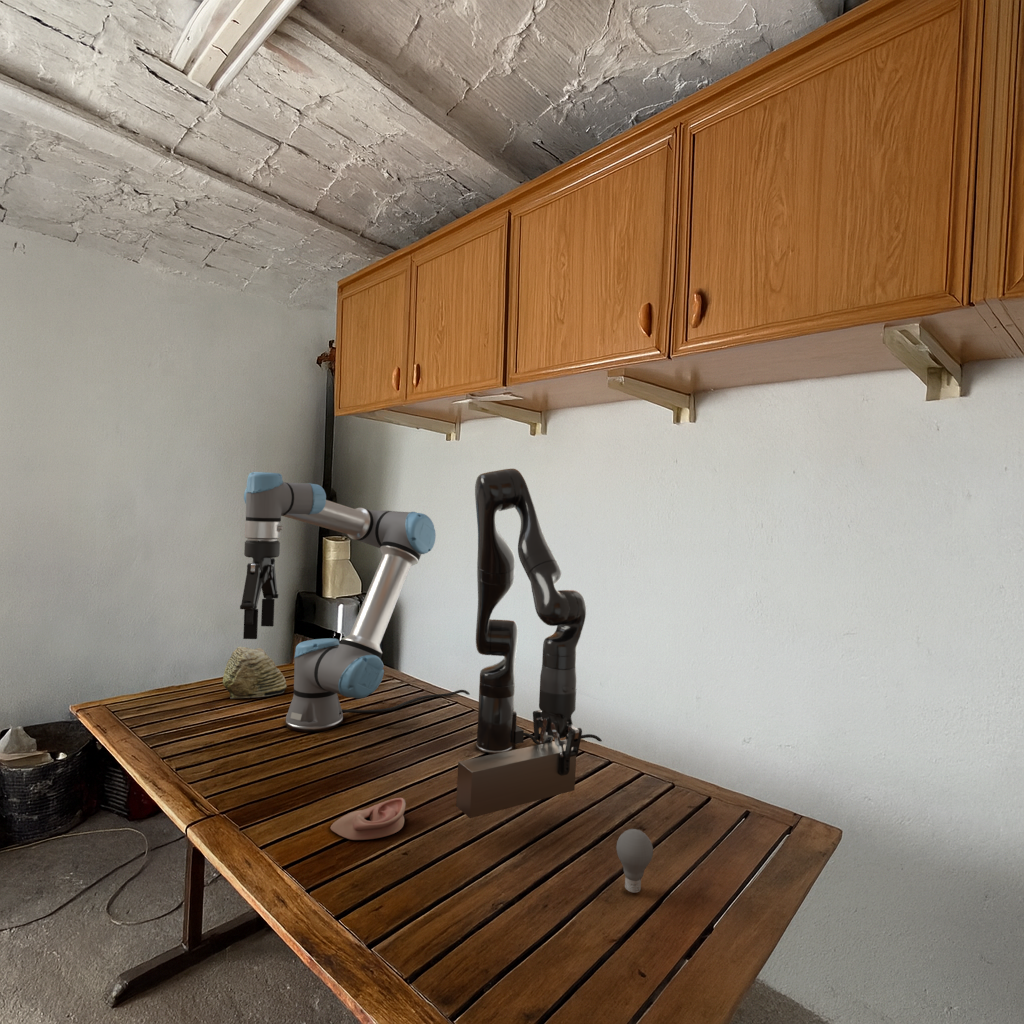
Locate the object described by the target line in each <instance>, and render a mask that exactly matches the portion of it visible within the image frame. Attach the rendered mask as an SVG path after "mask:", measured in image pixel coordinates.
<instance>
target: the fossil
mask: <svg viewBox="0 0 1024 1024" xmlns="http://www.w3.org/2000/svg"><path fill="white" fill-rule="evenodd" d="M222 676H223V677H222V685H223V687H224V688H225V690H226V691H228V693H229V698H230V699H250V698H264V697H271V696H275V695H281V694H284V693H285V691H286V689H287V687H288V686H287V680H286V678H285V676H284V674H283V673H282V672H281V669H279V668H278V667H277V665H276V663H275V662H274V660H273V659H272V658H271V657H270V656H269V655H268V654H267V653H266V652H265V650H264V649H263V648H260V647H258V648H251V647H247V646H246V647H245V646H238V647H237V648H236V649H235V650H233V651H232V653H231V656H230V657H229V659H228V660H227V663H226V666H225V668H224V671H223V675H222Z"/></svg>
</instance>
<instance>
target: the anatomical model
mask: <svg viewBox="0 0 1024 1024" xmlns="http://www.w3.org/2000/svg"><path fill="white" fill-rule="evenodd" d="M406 807H407V804H406V799H405V798H403V797H396V798H391V799H388V800H385V801H382V802H378V803H376V804H374V805H372V806H370V807H367V808H364V809H360V810H355V811H351V812H348V813H347V814H344V815H343V816H341V817H340V818H338V819H336V820H335V821H334V822H333V823H332V824H331V825H330V830H331V832H333V833H335V834H337V835H338V836H339V837H342V838H344V839H346V840H351V841H365V840H374V839H380V838H384V837H388V836H391V835H394V834H395V833H397V832H399V831H400V830H402V829H403V828H404V825H405V816H404V814H405V812H406V811H405V810H406Z"/></svg>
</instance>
